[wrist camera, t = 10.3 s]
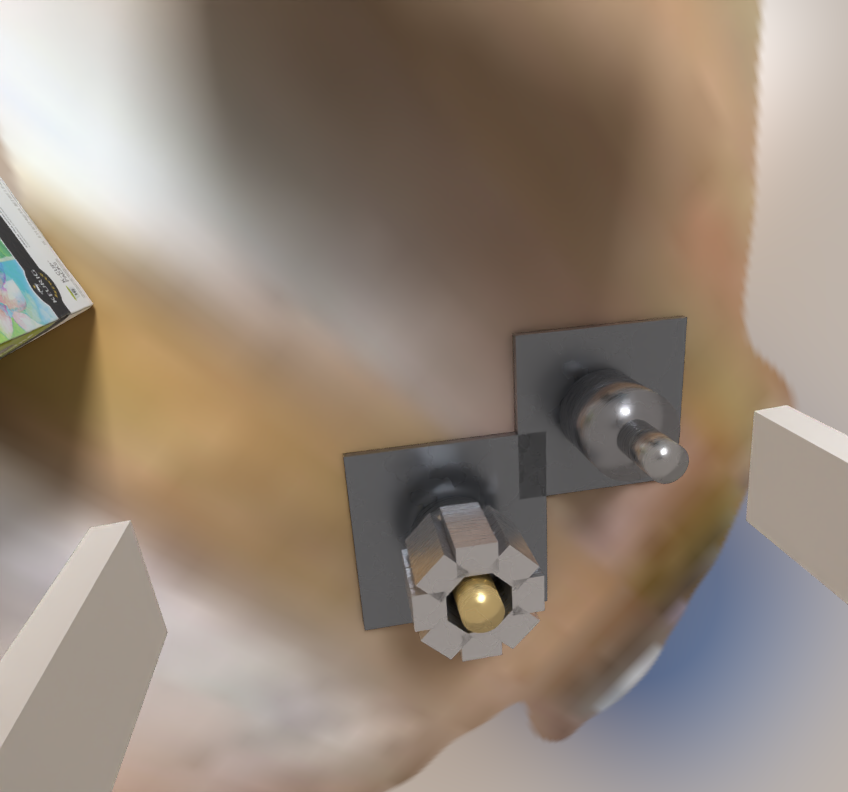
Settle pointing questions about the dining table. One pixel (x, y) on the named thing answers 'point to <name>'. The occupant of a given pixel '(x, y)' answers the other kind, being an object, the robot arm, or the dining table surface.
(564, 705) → the dining table surface
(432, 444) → the hub
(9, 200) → the tea box
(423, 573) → the ring
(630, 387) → the stand
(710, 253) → the dining table surface
